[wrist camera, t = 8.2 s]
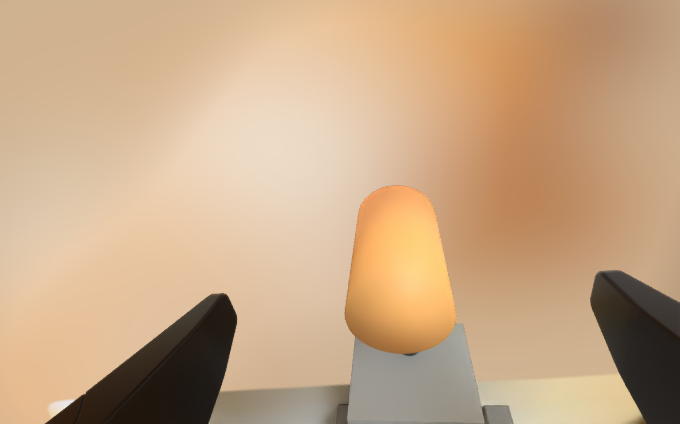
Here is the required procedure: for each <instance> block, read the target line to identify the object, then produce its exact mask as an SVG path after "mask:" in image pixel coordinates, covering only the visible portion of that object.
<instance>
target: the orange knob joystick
mask: <svg viewBox="0 0 680 424" xmlns="http://www.w3.org/2000/svg"><path fill="white" fill-rule="evenodd" d="M345 320H346V322H347V325H348V327H349V329H350V331H351V332H352V333H353V334H354V335H355V344H354V354H353V365H352V374H351V385H350V395H349V405H348V415H347V422H348V424H485V421H484V417H483V412H482V407H481V403H480V398H479V394H478V389H477V385H476V380H475V376H474V371H473V367H472V362H471V358H470V353H469V349H468V344H467V340H466V335H465V331H464V326H463V324H455V323H456V310H455V305H454V301H453V296H452V291H451V286H450V281H449V277H448V272H447V267H446V262H445V257H444V252H443V247H442V243H441V238H440V233H439V228H438V223H437V219H436V214H435V210H434V207H433V205H432V203H431V201H430V200H429V199H428V198H427V197H426V196H425V195H424V194H423V193H421V192H420V191H418V190H416V189H414V188H411V187H407V186H401V185H394V186H387V187H383V188H380V189H378V190H376V191H374V192H373V193H372V194H370V195H369V196H368V197H367V198H366V199H365V200H364V201H363V203H362V205H361V207H360V209H359V213H358V220H357V227H356V234H355V241H354V249H353V256H352V263H351V270H350V278H349V285H348V293H347V300H346V308H345Z"/></svg>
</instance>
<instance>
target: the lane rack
mask: <svg viewBox="0 0 680 424" xmlns="http://www.w3.org/2000/svg"><path fill="white" fill-rule="evenodd" d="M347 415H348V405H338V412H337V421H336V424H348V422H347ZM485 424H514V423H513V420H512V416H511V413H510V410H509V406H485Z"/></svg>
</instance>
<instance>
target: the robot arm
mask: <svg viewBox="0 0 680 424" xmlns="http://www.w3.org/2000/svg"><path fill="white" fill-rule="evenodd" d="M590 300H591V301H590V302H591V307H592V310H593V312H594V315H595V317H596V319H597V322H598V324H599V327H600V329H601V331H602V334H603V336H604V339H605V341H606V343H607V346H608V348H609V351H610V353H611V355H612V358H613V360H614V363H615V365H616V367H617V369H618V372H619V374H620V376H621V377H622V379H623V381H624V383H625V385H626V387H627V389H628V391H629V392H630V394H631V396H632V398H633V400H634V401H635V403H636V405H637V407H638V409H639V410H640V412H641V414H642V416H643V418H644V419H645V421H646V423H647V424H680V302H678V301H676V300H674V299H672V298H670V297H669V296H667V295H665V294H663V293H661V292H659V291H657V290H656V289H653V288H652V287H650V286H648V285H646V284H644V283H643V282H641V281H639V280H637V279H635V278H633V277H632V276H630V275H628V274H626V273H624V272H622V271H619V270H609V271H600V272H598V273H597V274H596V276H595V280H594V284H593V289H592V293H591V298H590ZM236 325H237V315H236V312H235V310H234V308H233V306H232V304H231V301H230V300H229V297H228V296H227V295H226V294H224V293H221V294H211V295H209V296H208V297H207V298H205V299H204V300H203V301H201V302H200V303H199V304H198V305H196V306H195V307H194V308H193V309H191V310H190V311H189V312H187V313H186V314H185V315H184V316H182V317H181V318H180V319H179V320H177V321H176V322H175V323H174V324H172V325H171V326H170V327H168V328H167V329H166V330H164V331H163V332H162V333H161V334H159V335H158V336H157V337H156V338H154V339H153V340H152V341H151V342H149V343H148V344H147V345H145V346H144V347H143V348H142V349H140V350H139V351H138V352H136V354H134V355H133V356H131V357H130V358H129V359H127V360H126V361H125V362H124V363H122V364H121V365H120V366H119V367H117V368H116V369H115V370H113V371H112V372H111V373H110V374H108V375H107V376H106V377H105V378H103V379H102V380H101V381H99V382H98V383H97V384H96V385H94V386H93V387H92V388H91V389H89V390H88V391H87V392H86V394H83V395H82V396H80V397H79V398H78V399H76V400H75V401H74V402H73V403H71V404H70V405H69V406H67V407H66V408H65V409H64V410H62V411H61V412H60V413H58V414H57V415H56V416H54V417H53V418H52V419H51V420H49V421H48V422H47V423H45V424H208V423H209V420H210V417H211V414H212V411H213V408H214V406H215V403H216V400H217V397H218V394H219V391H220V388H221V385H222V382H223V379H224V375H225V372H226V368H227V363H228V359H229V355H230V350H231V346H232V342H233V338H234V333H235V329H236Z"/></svg>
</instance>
